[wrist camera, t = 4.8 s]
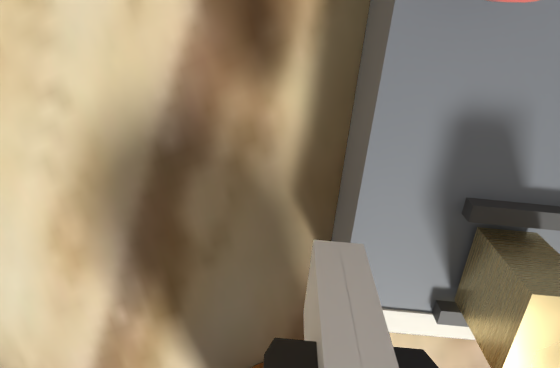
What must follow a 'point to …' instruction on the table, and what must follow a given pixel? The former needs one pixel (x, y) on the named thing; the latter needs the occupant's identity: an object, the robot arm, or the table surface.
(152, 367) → the table surface
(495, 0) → the red button
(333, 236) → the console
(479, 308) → the brass slider
